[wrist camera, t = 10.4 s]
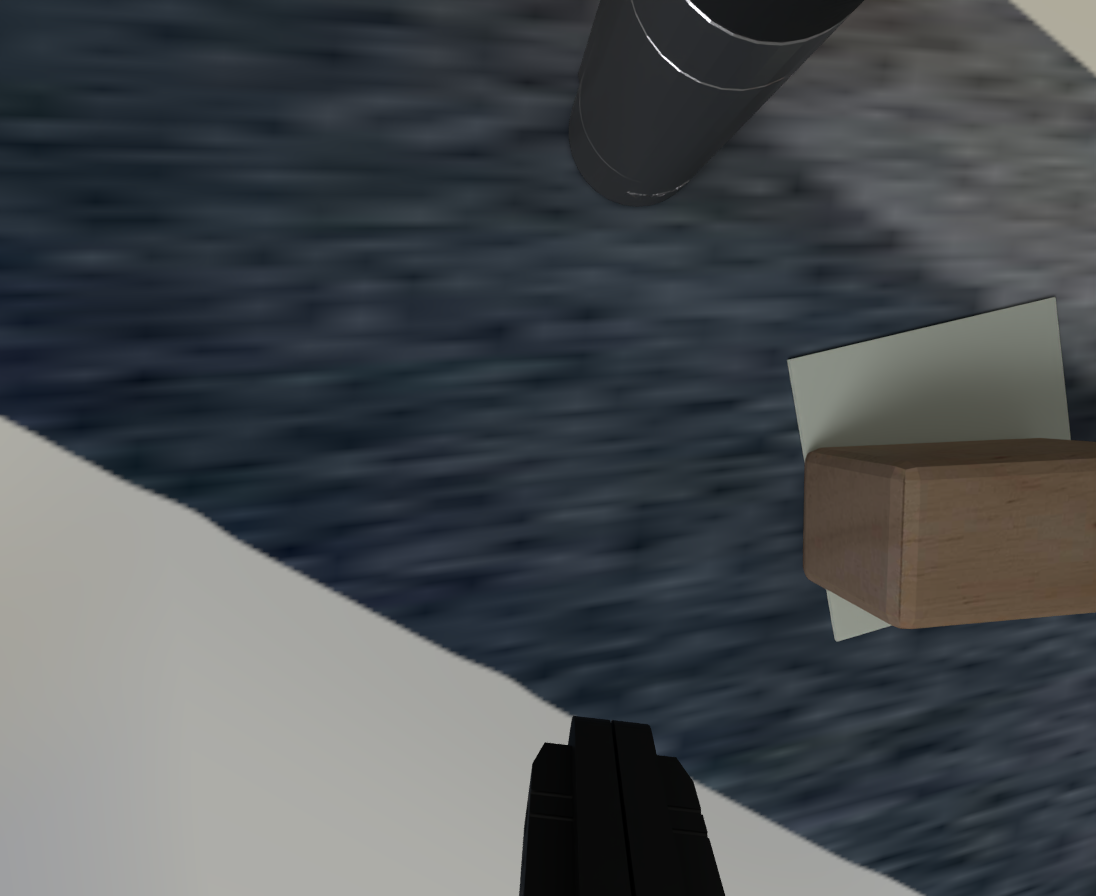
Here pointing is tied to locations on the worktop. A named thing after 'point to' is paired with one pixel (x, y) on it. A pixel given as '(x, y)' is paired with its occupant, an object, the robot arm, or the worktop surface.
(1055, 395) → the mat
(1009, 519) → the wooden block
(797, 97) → the worktop surface
